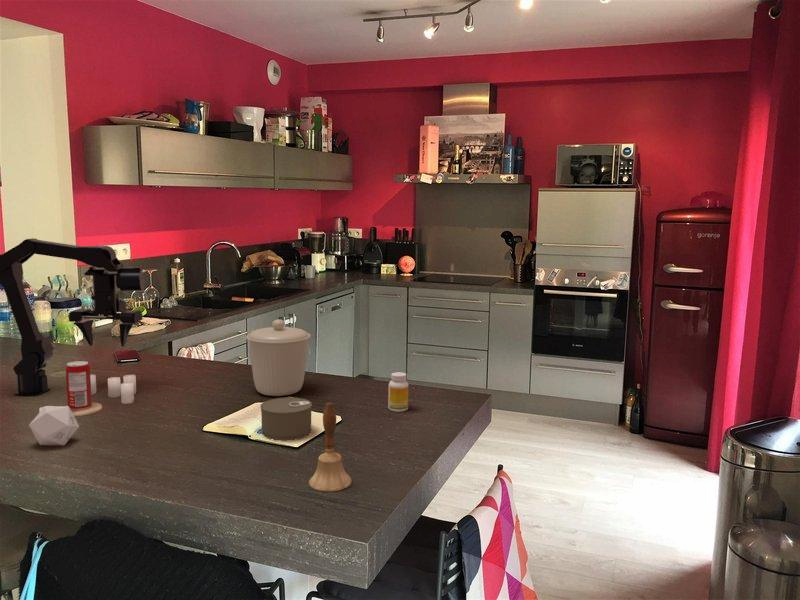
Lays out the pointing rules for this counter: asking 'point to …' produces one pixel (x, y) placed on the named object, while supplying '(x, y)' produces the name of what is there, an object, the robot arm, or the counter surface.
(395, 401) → the supplement bottle
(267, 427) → the can
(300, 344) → the canister
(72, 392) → the soda can
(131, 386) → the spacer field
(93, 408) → the coaster
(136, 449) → the counter surface
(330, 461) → the hand bell
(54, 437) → the die
